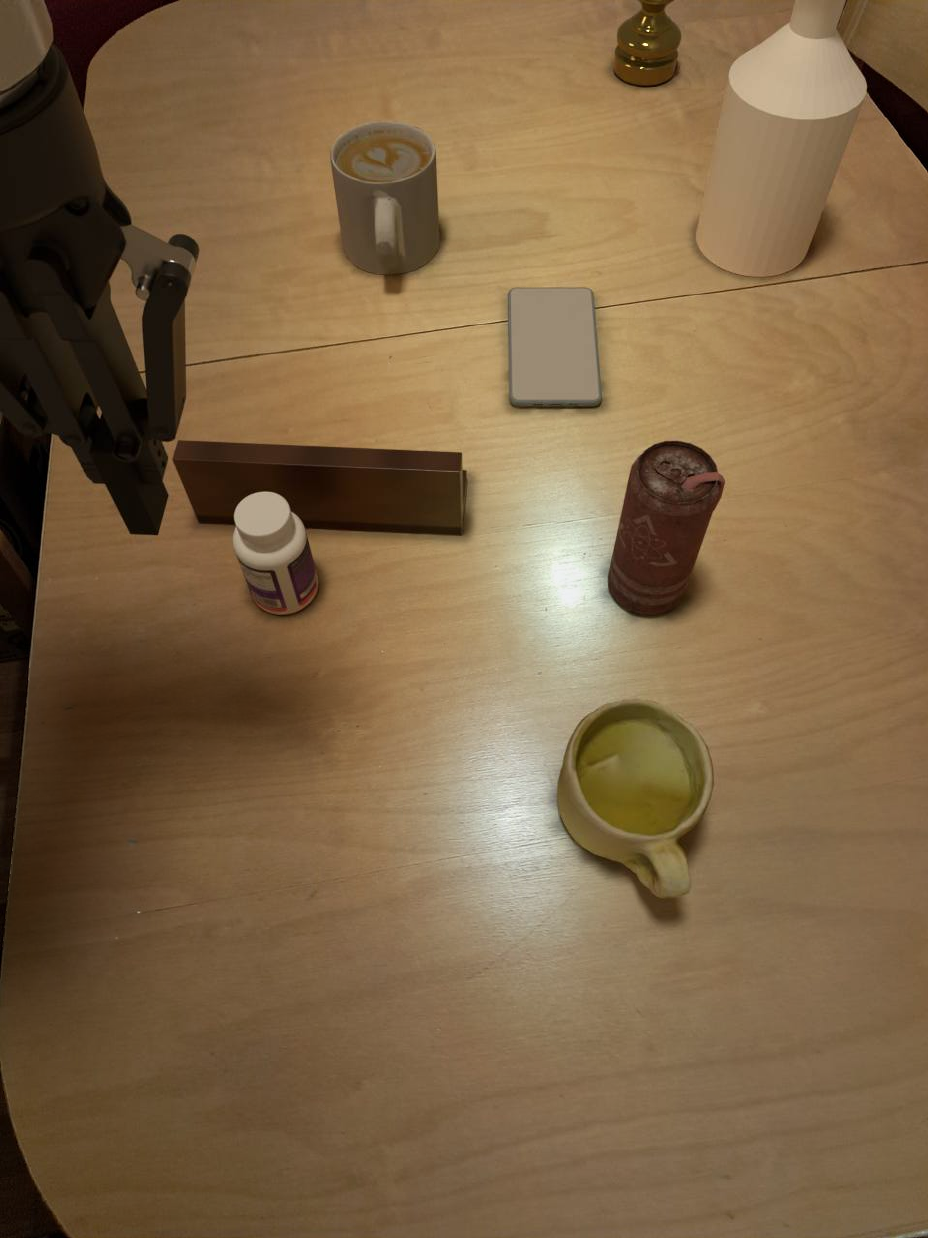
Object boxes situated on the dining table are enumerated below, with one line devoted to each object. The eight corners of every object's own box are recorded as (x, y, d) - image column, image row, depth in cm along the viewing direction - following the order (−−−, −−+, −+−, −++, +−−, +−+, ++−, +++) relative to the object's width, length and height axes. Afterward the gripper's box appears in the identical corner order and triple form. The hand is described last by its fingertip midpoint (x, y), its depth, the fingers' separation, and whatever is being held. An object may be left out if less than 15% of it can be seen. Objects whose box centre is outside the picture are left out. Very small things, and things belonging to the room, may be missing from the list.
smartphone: (509, 401, 84) (507, 286, 91) (509, 409, 84) (507, 294, 92) (603, 401, 83) (593, 285, 91) (601, 409, 84) (592, 294, 92)
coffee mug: (354, 208, 99) (343, 116, 91) (447, 216, 99) (444, 124, 90) (324, 292, 93) (309, 201, 84) (423, 302, 92) (418, 211, 83)
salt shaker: (605, 57, 114) (616, -35, 105) (664, 50, 115) (679, -42, 106) (621, 90, 110) (634, -2, 102) (682, 83, 111) (700, -9, 102)
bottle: (703, 280, 93) (770, 9, 71) (684, 205, 99) (741, -65, 78) (822, 276, 93) (925, 3, 72) (796, 201, 99) (883, -70, 78)
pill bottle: (305, 551, 77) (285, 473, 68) (329, 601, 74) (311, 527, 66) (242, 574, 75) (213, 498, 67) (263, 626, 73) (236, 554, 64)
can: (692, 617, 73) (734, 505, 61) (610, 618, 73) (636, 506, 61) (682, 553, 76) (720, 434, 64) (603, 554, 76) (627, 436, 64)
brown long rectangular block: (198, 523, 78) (171, 459, 71) (213, 467, 81) (188, 401, 74) (462, 535, 77) (460, 472, 70) (466, 478, 80) (465, 412, 73)
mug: (522, 724, 66) (581, 686, 57) (652, 732, 69) (727, 697, 60) (529, 905, 62) (594, 895, 53) (667, 905, 65) (751, 896, 56)
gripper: (167, 10, 32) (280, 465, 52) (-209, 0, 32) (49, 456, 52) (114, 140, 28) (259, 577, 48) (-312, 127, 28) (9, 567, 49)
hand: (149, 514), depth 50 cm, fingers closed
